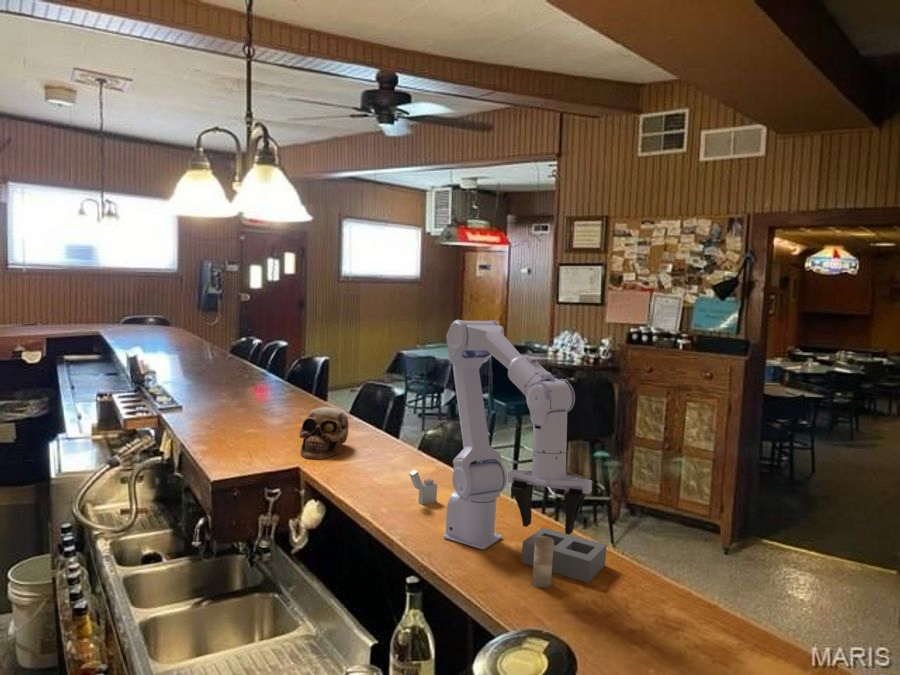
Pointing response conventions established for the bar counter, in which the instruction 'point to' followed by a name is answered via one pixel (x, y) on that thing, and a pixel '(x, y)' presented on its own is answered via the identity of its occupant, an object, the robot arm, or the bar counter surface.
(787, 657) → the bar counter surface
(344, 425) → the brown skull
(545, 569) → the dowel
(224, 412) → the bar counter surface
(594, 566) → the socket block
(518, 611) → the bar counter surface
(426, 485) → the lighter
